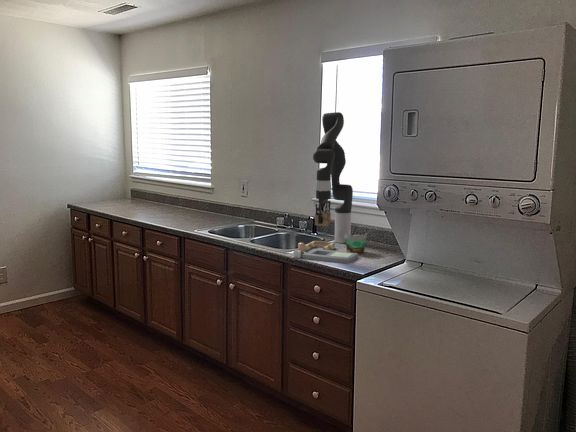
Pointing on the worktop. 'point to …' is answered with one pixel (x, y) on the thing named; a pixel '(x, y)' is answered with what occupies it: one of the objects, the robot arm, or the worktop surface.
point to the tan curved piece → (320, 245)
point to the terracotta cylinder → (301, 247)
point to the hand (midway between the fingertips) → (322, 222)
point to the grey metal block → (297, 253)
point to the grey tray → (330, 255)
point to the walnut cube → (324, 219)
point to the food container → (355, 243)
